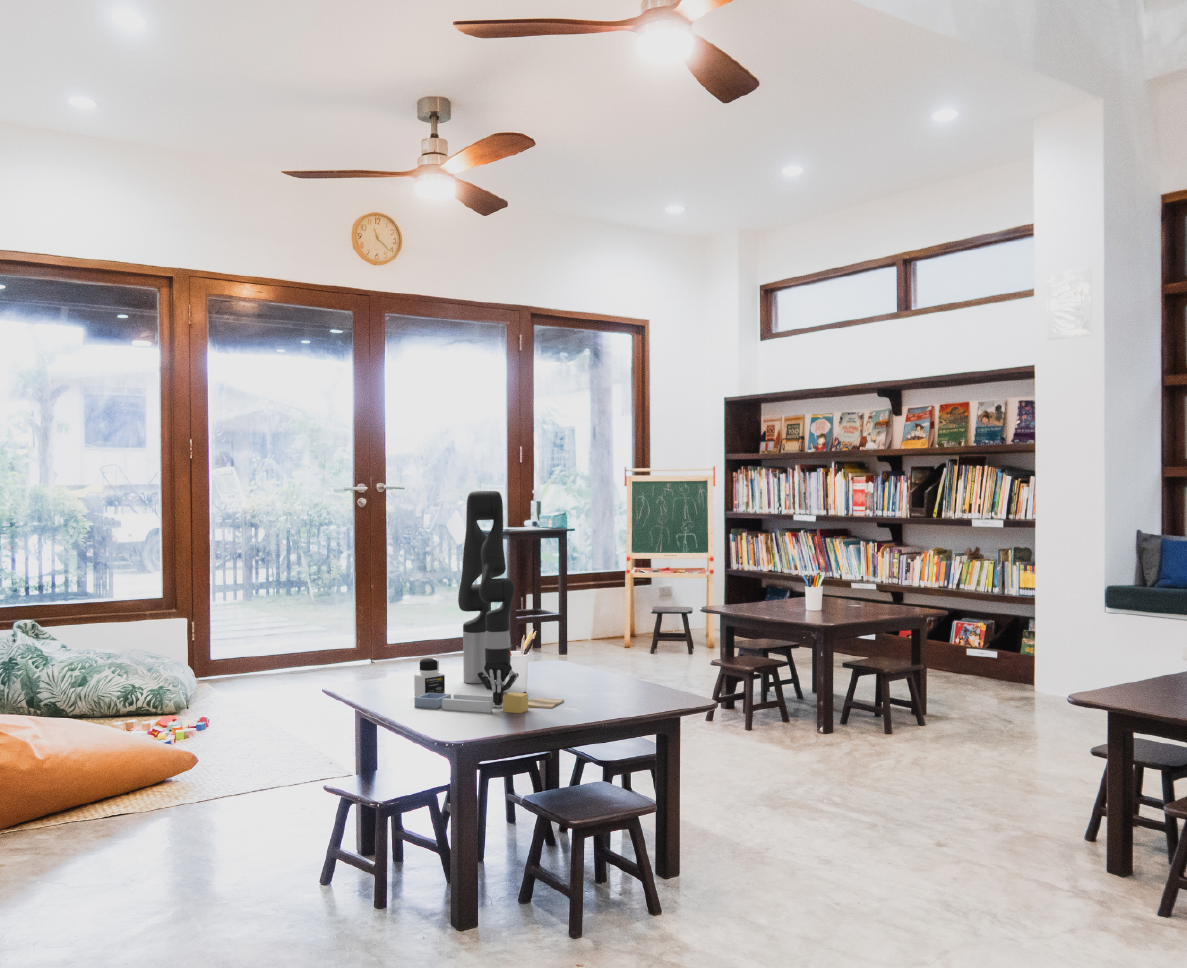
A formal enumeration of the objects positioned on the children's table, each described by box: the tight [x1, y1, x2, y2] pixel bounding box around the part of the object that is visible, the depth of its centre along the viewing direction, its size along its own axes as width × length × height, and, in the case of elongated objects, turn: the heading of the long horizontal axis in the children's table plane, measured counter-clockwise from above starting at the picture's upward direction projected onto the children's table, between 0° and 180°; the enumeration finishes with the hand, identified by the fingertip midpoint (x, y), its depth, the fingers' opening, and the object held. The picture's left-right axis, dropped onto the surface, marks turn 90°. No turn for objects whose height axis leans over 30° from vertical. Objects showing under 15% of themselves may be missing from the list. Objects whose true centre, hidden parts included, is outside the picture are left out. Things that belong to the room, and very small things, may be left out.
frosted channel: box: [441, 693, 503, 714], centre depth 280 cm, size 16×8×3 cm, turn 70°
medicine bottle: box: [413, 657, 446, 698], centre depth 297 cm, size 7×7×12 cm
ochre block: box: [502, 692, 529, 714], centre depth 275 cm, size 4×6×5 cm
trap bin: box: [414, 693, 452, 710], centre depth 284 cm, size 8×8×3 cm
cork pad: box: [528, 697, 565, 709], centre depth 284 cm, size 10×10×1 cm
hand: (498, 704), depth 277 cm, fingers closed
